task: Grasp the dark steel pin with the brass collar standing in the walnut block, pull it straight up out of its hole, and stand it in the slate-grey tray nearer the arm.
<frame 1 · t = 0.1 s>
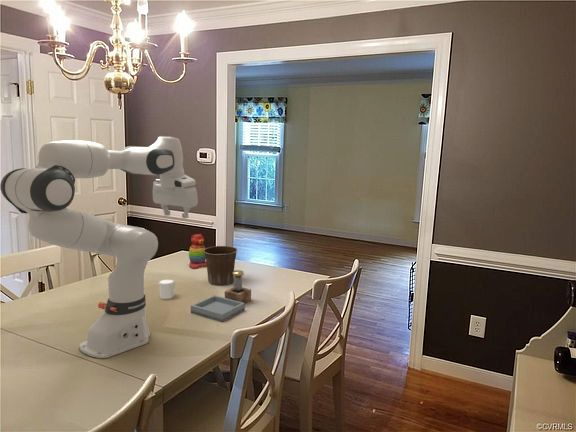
hand: (176, 216, 154), 39 cm above the table, tool pointing down, fingers open, 8 cm apart
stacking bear: (197, 266, 226), on the table
plant pot: (220, 282, 200), on the table
white cylinder: (166, 297, 178), on the table
pin block: (237, 301, 175), on the table
tray: (218, 311, 164), on the table
steel pin: (238, 286, 174), in the pin block
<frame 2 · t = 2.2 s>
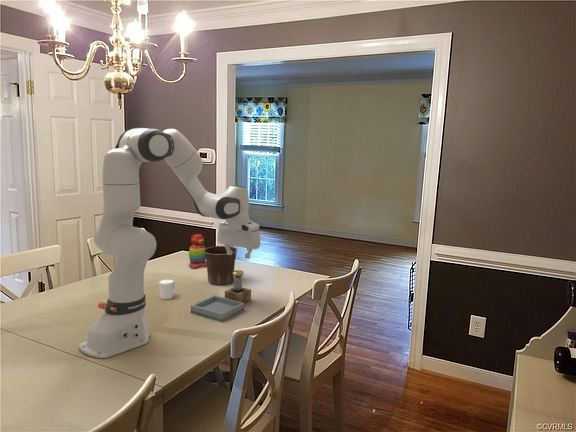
hand: (238, 256, 172), 20 cm above the table, tool pointing down, fingers open, 8 cm apart
nothing on the table moved.
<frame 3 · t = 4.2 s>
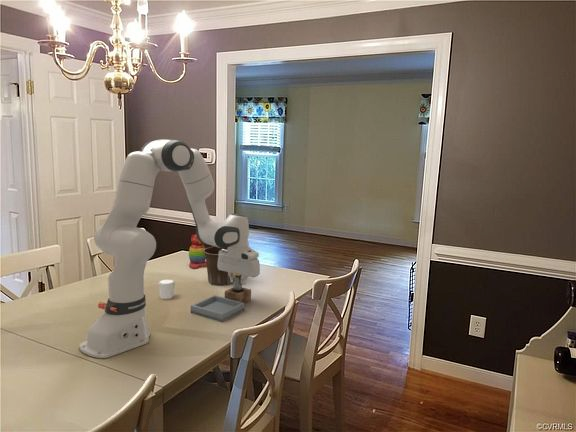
hand: (237, 283, 174), 8 cm above the table, tool pointing down, fingers closed on steel pin, 4 cm apart
steel pin: (238, 286, 174), in the pin block, touching gripper
everything else where it was.
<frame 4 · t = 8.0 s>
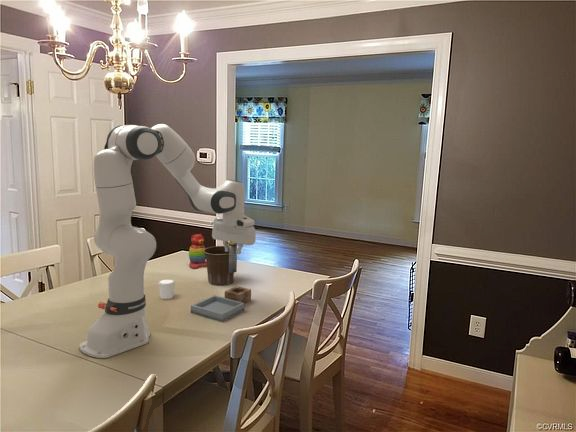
hand: (232, 252, 169), 22 cm above the table, tool pointing down, fingers closed on steel pin, 4 cm apart
steel pin: (232, 256, 169), point 21 cm above the table, touching gripper
everything else where it was.
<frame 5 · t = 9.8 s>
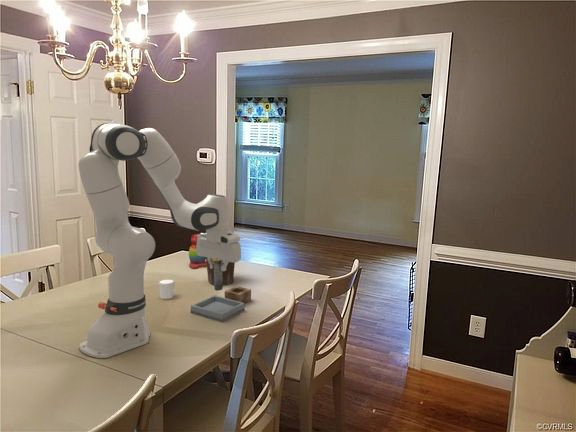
hand: (218, 269, 161), 17 cm above the table, tool pointing down, fingers closed on steel pin, 4 cm apart
steel pin: (218, 273, 161), point 16 cm above the table, touching gripper
everything else where it was.
when the fingers open (11 cm above the table, at t = 11.6 s): steel pin drops 2 cm, resting on tray.
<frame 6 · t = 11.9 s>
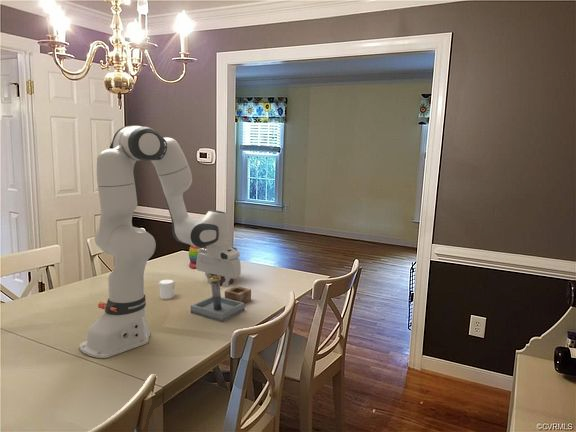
hand: (217, 284, 162), 11 cm above the table, tool pointing down, fingers open, 6 cm apart
steel pin: (216, 293, 163), in the tray, point 8 cm above the table, tilted 5°
everything else where it was.
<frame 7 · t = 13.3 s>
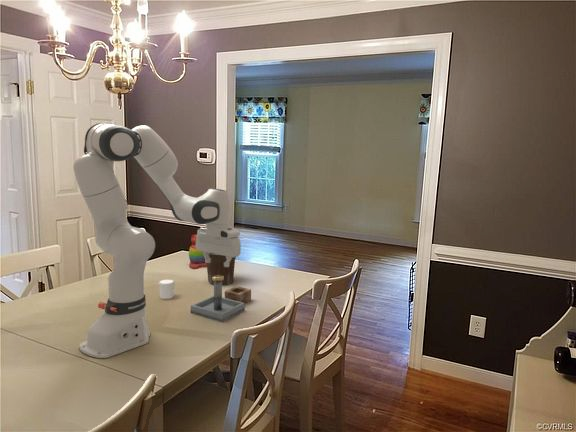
hand: (217, 264, 160), 19 cm above the table, tool pointing down, fingers open, 8 cm apart
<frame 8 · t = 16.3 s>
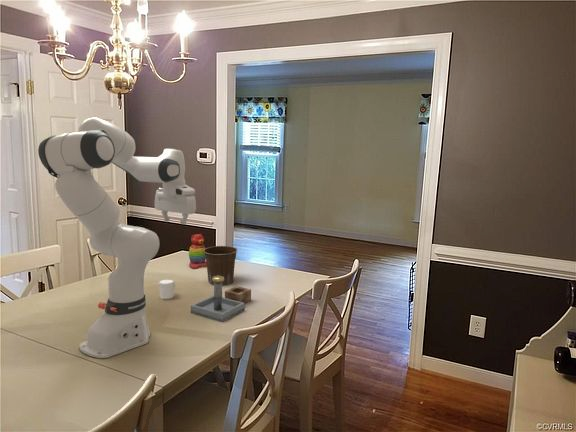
hand: (175, 222, 167), 34 cm above the table, tool pointing down, fingers open, 8 cm apart
at the end: steel pin inside the target area on the tray (0.0 cm from its centre), point 7.6 cm above the tray's base; the gripper is holding nothing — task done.
